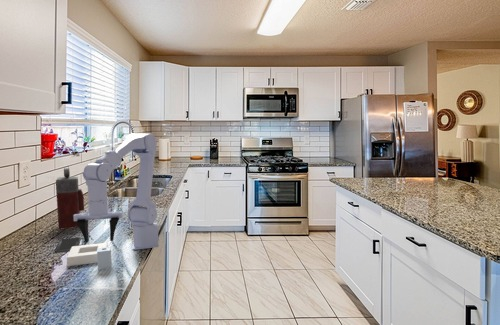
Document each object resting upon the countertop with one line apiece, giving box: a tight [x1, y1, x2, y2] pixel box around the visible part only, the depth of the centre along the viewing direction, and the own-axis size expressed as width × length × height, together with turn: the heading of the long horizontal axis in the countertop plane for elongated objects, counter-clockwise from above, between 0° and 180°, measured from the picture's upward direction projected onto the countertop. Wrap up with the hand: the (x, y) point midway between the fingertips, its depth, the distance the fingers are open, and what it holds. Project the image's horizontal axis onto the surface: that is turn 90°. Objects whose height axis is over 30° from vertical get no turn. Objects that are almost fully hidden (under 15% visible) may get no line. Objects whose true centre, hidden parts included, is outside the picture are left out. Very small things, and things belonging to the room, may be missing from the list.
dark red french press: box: [55, 167, 85, 230], centre depth 164 cm, size 9×11×28 cm
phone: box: [54, 237, 82, 253], centre depth 136 cm, size 8×1×15 cm
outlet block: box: [66, 242, 109, 267], centre depth 122 cm, size 12×12×3 cm
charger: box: [97, 246, 113, 271], centre depth 113 cm, size 4×4×6 cm
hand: (99, 241), depth 112 cm, fingers open, 7 cm apart
